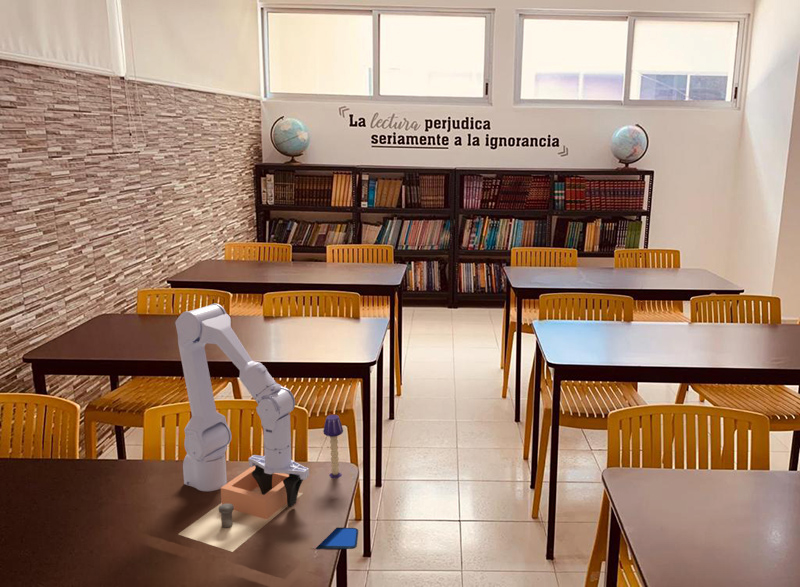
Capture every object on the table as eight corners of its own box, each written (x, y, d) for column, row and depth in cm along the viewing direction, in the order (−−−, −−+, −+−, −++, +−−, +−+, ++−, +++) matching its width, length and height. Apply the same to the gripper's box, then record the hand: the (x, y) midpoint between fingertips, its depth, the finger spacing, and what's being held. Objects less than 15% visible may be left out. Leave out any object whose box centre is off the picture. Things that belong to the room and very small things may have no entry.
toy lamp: (339, 487, 162) (338, 421, 158) (321, 484, 163) (319, 418, 159) (347, 478, 166) (346, 413, 162) (329, 475, 167) (328, 411, 164)
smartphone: (356, 547, 137) (282, 546, 137) (356, 551, 137) (282, 550, 137) (358, 527, 144) (287, 526, 144) (358, 531, 145) (287, 529, 145)
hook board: (178, 540, 140) (176, 515, 139) (253, 486, 162) (252, 464, 161) (232, 558, 134) (231, 532, 133) (303, 499, 156) (302, 476, 155)
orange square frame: (221, 506, 150) (220, 487, 149) (255, 482, 161) (254, 464, 160) (266, 519, 145) (265, 500, 144) (298, 493, 156) (297, 475, 155)
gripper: (238, 445, 147) (241, 502, 150) (295, 458, 141) (297, 518, 144) (258, 432, 153) (261, 487, 156) (313, 445, 147) (315, 502, 150)
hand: (279, 501), depth 151 cm, fingers open, 6 cm apart
